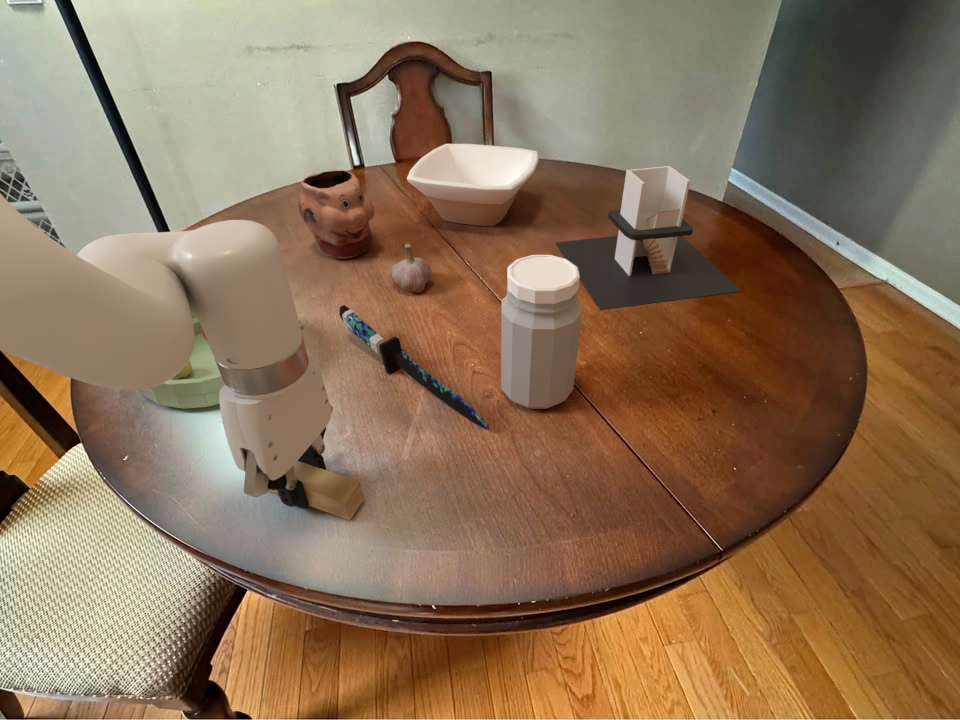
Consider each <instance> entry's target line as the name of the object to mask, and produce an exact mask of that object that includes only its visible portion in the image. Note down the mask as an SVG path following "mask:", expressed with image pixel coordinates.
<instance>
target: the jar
mask: <svg viewBox="0 0 960 720" xmlns="http://www.w3.org/2000/svg"><path fill="white" fill-rule="evenodd" d="M506 271H507V276H506V279H507V280H506V281H507V282H506V283H507V287H506V295H505V296H504V298H502V299H501V309H500V311H501V312H500V313H501V315H500V316H501V318H500V319H501V320H500V321H501V323H500V325H501V326H500V327H501V328H500V330H501V331H500V332H501V333H500V336H501V337H500V342H501V343H500V389H501V390H502V392H503V393H504V394H505V395H506V396H507V397H508V398H509V400H510V401H511V402H513V403H514V404H517V405H518V406H521V407H524V408H526V409H528V410H547V409H550V408H552V407H556V406H558V405H559V404H562V403H563V402H565V401H566V400H567V398H569V396H570V394H571V393H572V392H573V390H574V387H575V386H574V385H575V377H576V370H577V369H576V368H577V359H578V351H579V342H580V332H581V324H582V316H583V311H582V305H581V301H580V299H579V295H578V291H579V289H580V275H579V271H578V267H577V266H575V265H574V264H572V263H571V262H570V261H568V260H567V259H566V258H565V257H564V258H563V257H560V256H556V255H552V254H530V255H527V256H524V257H523V256H522V257H520V258H516V259H515V260H514V261H513V262H512V263H510V264H509V265H508V266H507V270H506Z"/></svg>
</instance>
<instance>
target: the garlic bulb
mask: <svg viewBox="0 0 960 720" xmlns="http://www.w3.org/2000/svg"><path fill="white" fill-rule="evenodd" d="M404 252H405V255H406V256H405V257H406V258H405V259H402V260H400V261H398V262H397V263H395V264H393V265H392V267H391V268H390V271H389V275H390V279H391V281H392V282H393V283H394V284H396V286H397V287H398V288H400V289H402V290H404V291H406V292H414V293H421V292H423V290H424V289H425V287H426V283H428V282H429V281H430V279H431V277H432V275H433V274H432V273H433V272H432V268H431V266H430V264H428V262H426V261H425V259H423V258H421V257H414V254H413V249H412V245H411V244H409V243H405V244H404Z"/></svg>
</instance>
